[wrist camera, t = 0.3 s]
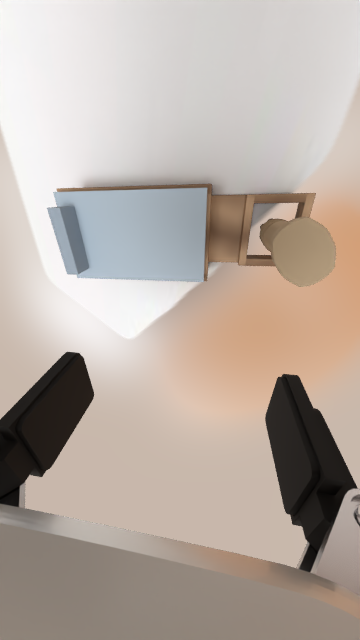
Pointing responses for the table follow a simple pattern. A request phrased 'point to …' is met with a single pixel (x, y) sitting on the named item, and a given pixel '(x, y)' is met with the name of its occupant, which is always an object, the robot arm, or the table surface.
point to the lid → (132, 233)
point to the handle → (299, 249)
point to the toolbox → (228, 221)
